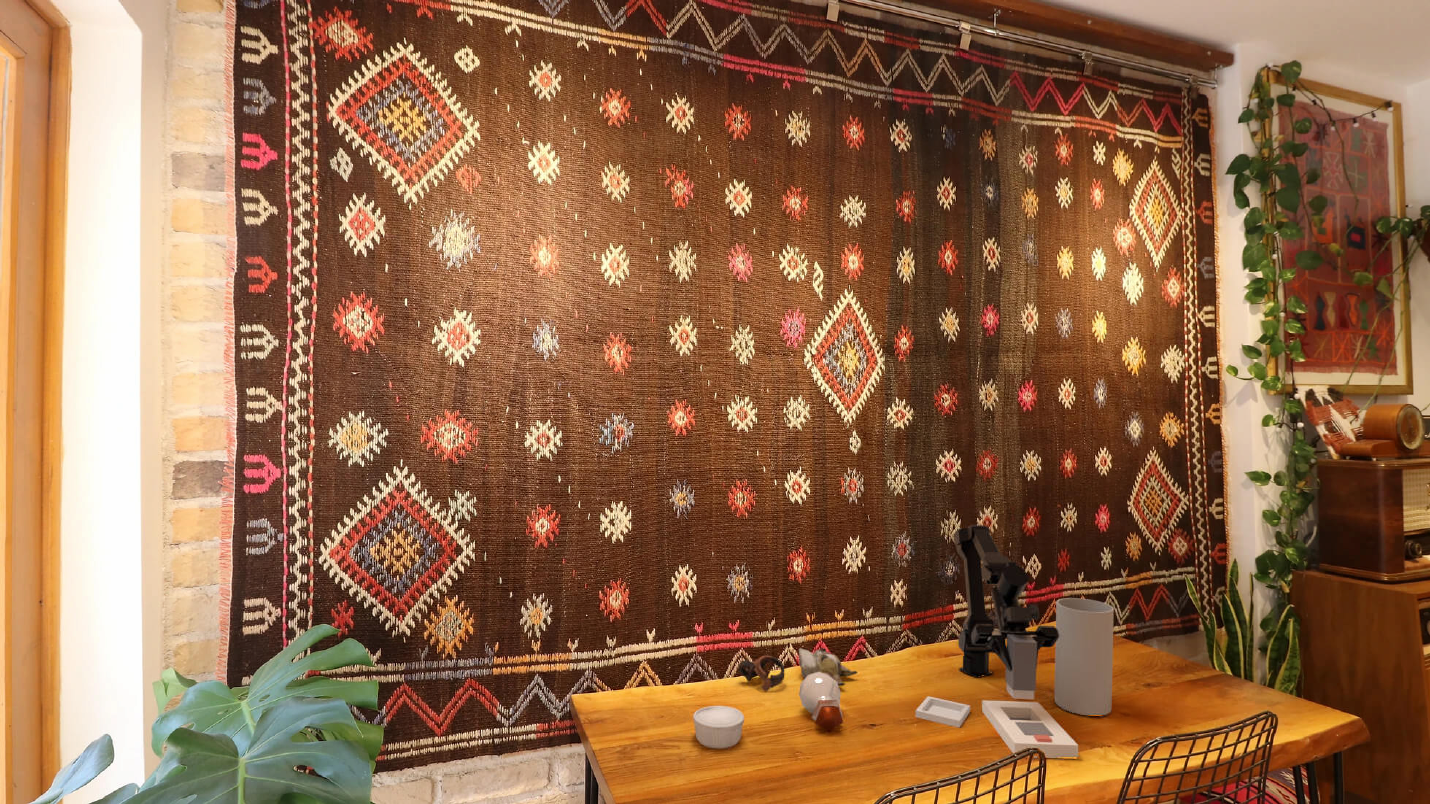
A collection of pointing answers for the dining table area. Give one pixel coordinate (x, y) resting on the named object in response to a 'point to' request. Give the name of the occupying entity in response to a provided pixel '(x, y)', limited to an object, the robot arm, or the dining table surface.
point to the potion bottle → (822, 700)
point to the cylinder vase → (1084, 656)
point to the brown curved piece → (762, 671)
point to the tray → (943, 711)
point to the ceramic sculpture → (823, 665)
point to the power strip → (1029, 728)
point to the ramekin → (718, 726)
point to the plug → (1021, 666)
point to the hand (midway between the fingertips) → (1022, 670)
